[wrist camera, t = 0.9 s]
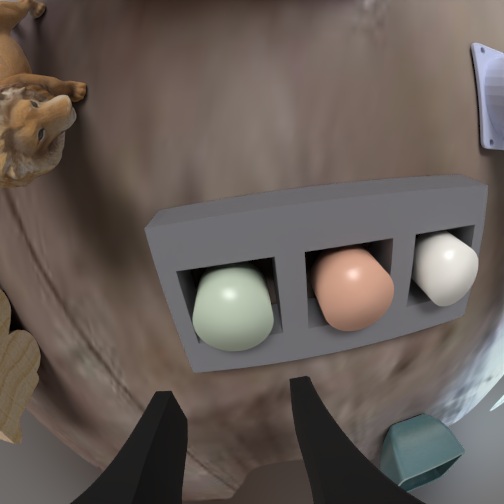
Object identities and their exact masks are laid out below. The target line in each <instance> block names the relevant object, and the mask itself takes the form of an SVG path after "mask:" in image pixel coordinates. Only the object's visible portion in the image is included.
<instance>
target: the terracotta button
mask: <svg viewBox="0 0 504 504" xmlns="http://www.w3.org/2000/svg"><path fill="white" fill-rule="evenodd" d="M310 282H311V286H312V288H313V290H314V293H315V295H316V298H317V300H318V302H319V305H320V307H321V309H322V312H323V314H324V316H325V319H326V320H327V322H328V323H329V324H330V325H331V326H332V327H334V328H336V329H338V330H342V331H356V330H360V329H363V328H366V327H368V326H370V325H372V324H373V323H375V322H376V321H377V320H379V319H380V318H381V317H382V316H383V315H384V314H385V312H386V311H387V310H388V308H389V306H390V304H391V302H392V299H393V296H394V284H393V281H392V279H391V277H390V275H389V274H388V273H387V272H386V271H385V270H384V268H383V267H382V266H381V265H380V264H379V263H378V262H377V261H376V259H375V258H374V257H373V256H372V255H371V254H370V253H369V252H368V251H367V249H366V248H364V247H363V246H362V245H360V244H353V245H346V246H340V247H333V248H327V249H325V250H324V251H322V252H321V253H320V254H319V255H318V257H317V258H316V259H315V261H314V263H313V265H312V268H311V271H310Z"/></svg>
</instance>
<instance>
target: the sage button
mask: <svg viewBox="0 0 504 504" xmlns="http://www.w3.org/2000/svg"><path fill="white" fill-rule="evenodd" d="M273 322H274V318H273V312H272V306H271V301H270V296H269V291H268V286H267V281H266V278H265V276H264V275H263V273H262V272H261V271H260V270H259V269H258V268H257V267H256V266H254V265H253V264H251V263H249V262H247V261H242V262H236V263H229V264H222V265H215V266H210V267H209V268H208V269H206V271H205V272H204V273H203V275H202V276H201V278H200V281H199V285H198V291H197V296H196V301H195V307H194V312H193V326H194V329H195V331H196V333H197V335H198V336H199V337H200V338H201V339H202V340H203V341H204V342H205V343H207V344H208V345H210V346H212V347H214V348H217V349H220V350H224V351H242V350H247V349H250V348H253V347H255V346H257V345H258V344H260V343H261V342H263V341H264V340H265V339H266V338H267V337H268V335H269V334H270V332H271V330H272V327H273Z"/></svg>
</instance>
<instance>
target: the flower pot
mask: <svg viewBox="0 0 504 504" xmlns="http://www.w3.org/2000/svg"><path fill="white" fill-rule="evenodd" d="M465 452H466V451H465V450H464V448H463V447H462V446H461V444H460V443H459V442H458V440H457V439H456V437H455V436H454V435H453V433H452V432H451V431H450V429H449V428H448V427H447V426H446V425H445V424H444V423H442V422H441V421H439V420H438V419H436V418H434V417H432V416H429V415H426V414H421V415H419V416H416V417H413V418H411V419H408V420H405V421H402V422H399V423H396V424H394V425H392V426H391V427H390V429H389V431H388V433H387V436H386V438H385V440H384V442H383V446H382V451H381V457H380V471H381V472H382V473H383V474H384V475H386V476H387V477H388V478H389V479H391V480H392V481H393V482H394V483H396V484H397V485H398V486H399V487H401V488H402V489H404V490H405V491H406V492H409V491H411V490H414V489H416V488H419V487H421V486H423V485H426V484H428V483H430V482H433V481H435V480H437V479H439V478H441V477H442V476H443V475H444V474H445V473H446V472H447V471H448V470H449V469H450V468H451V467H452V466H453V465H454V464H455V463H456V462H457V461H458V460H459V459H460V458H461V457H462V456H463V455H464V454H465Z"/></svg>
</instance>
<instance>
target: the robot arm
mask: <svg viewBox="0 0 504 504" xmlns="http://www.w3.org/2000/svg"><path fill="white" fill-rule="evenodd" d="M471 50H472V55H473V61H474V67H475V74H476V81H477V89H478V99H479V112H480V135H481V145H482V147H483V148H486V149H496V150H504V53H501V52H499V51H497V50H494V49H492V48H489V47H487V46H484V45H481V44H479V43H472V44H471ZM481 51H482V52H481ZM290 390H291V402H292V412H293V418H294V424H295V430H296V435H297V438H298V442H299V445H300V449H301V452H302V456H303V459H304V463H305V467H306V470H307V473H308V477H309V481H310V485H311V489H312V494H313V501H314V504H425V503H424V502H422V501H420V500H419V499H417V498H415V497H414V496H412V495H411V494H409V493H408V492H406V491H405V490H404V489H402V488H401V487H399V486H398V485H397V484H396V483H394V482H393V481H392V480H391V479H389V478H388V477H387V476H386V475H384V474H383V473H382V472H381V471H380V470H378V469H377V468H376V467H375V466H374V465H373V464H372V463H371V462H370V461H369V460H368V459H367V458H366V457H365V456H364V455H363V454H362V453H361V452H360V451H359V450H358V449H357V448H356V446H355V445H354V444H353V443H352V442H351V441H350V440H349V438H348V437H347V436H346V435H345V433H344V432H343V431H342V430H341V428H340V427H339V426H338V424H337V423H336V422H335V420H334V419H333V417H332V416H331V415H330V413H329V412H328V410H327V409H326V407H325V406H324V404H323V402H322V401H321V399H320V397H319V396H318V394H317V392H316V390H315V388H314V386H313V384H312V382H311V380H310V377H308V376H304V377H298V378H293V379H290ZM187 443H188V428H187V418H186V416H185V415H184V413H183V411H182V409H181V408H180V406H179V404H178V402H177V401H176V399H175V397H174V395H173V393H172V391H156V393H155V394H154V396H153V397H152V399H151V401H150V403H149V405H148V406H147V408H146V410H145V412H144V413H143V415H142V417H141V418H140V420H139V422H138V424H137V425H136V427H135V428H134V430H133V432H132V433H131V435H130V437H129V438H128V440H127V441H126V443H125V444H124V445H123V447H122V448H121V450H120V451H119V453H118V454H117V456H116V457H115V458H114V460H113V461H112V462H111V463H110V465H109V466H108V467H107V468H106V470H105V471H104V472H103V473H102V474H101V475H100V477H99V478H98V479H97V480H96V481H95V482H94V483H93V484H92V485H91V486H90V487H89V488H88V489H87V490H86V491H85V492H83V493H82V494H81V495H80V496H79V497H78V498H76V499H75V500H74V501H73V502H72V503H70V504H182V486H183V477H184V469H185V460H186V452H187Z"/></svg>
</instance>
